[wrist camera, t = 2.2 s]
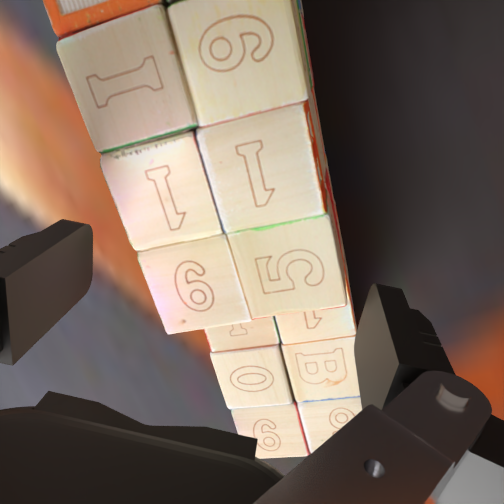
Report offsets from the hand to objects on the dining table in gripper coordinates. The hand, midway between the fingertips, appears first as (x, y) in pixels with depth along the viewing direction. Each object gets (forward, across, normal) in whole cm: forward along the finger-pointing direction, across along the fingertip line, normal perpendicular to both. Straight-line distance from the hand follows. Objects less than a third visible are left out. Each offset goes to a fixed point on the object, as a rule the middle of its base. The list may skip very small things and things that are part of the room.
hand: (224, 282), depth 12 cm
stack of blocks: (+13, 0, 0) cm, 13 cm away
